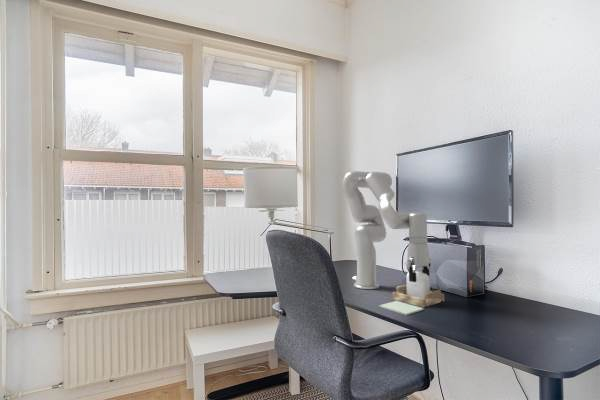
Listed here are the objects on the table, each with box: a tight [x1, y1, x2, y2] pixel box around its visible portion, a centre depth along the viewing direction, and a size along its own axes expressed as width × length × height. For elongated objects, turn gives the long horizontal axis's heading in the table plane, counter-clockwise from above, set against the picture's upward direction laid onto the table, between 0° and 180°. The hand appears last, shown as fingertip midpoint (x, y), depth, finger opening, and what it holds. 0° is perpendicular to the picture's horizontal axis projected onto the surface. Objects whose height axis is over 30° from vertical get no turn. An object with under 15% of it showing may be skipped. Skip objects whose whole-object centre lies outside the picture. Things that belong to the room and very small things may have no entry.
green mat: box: [378, 300, 424, 316], centre depth 135 cm, size 13×11×1 cm
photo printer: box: [405, 271, 431, 299], centre depth 147 cm, size 10×4×12 cm, turn 39°
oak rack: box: [392, 283, 445, 309], centre depth 147 cm, size 15×15×5 cm
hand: (419, 280), depth 146 cm, fingers open, 9 cm apart
